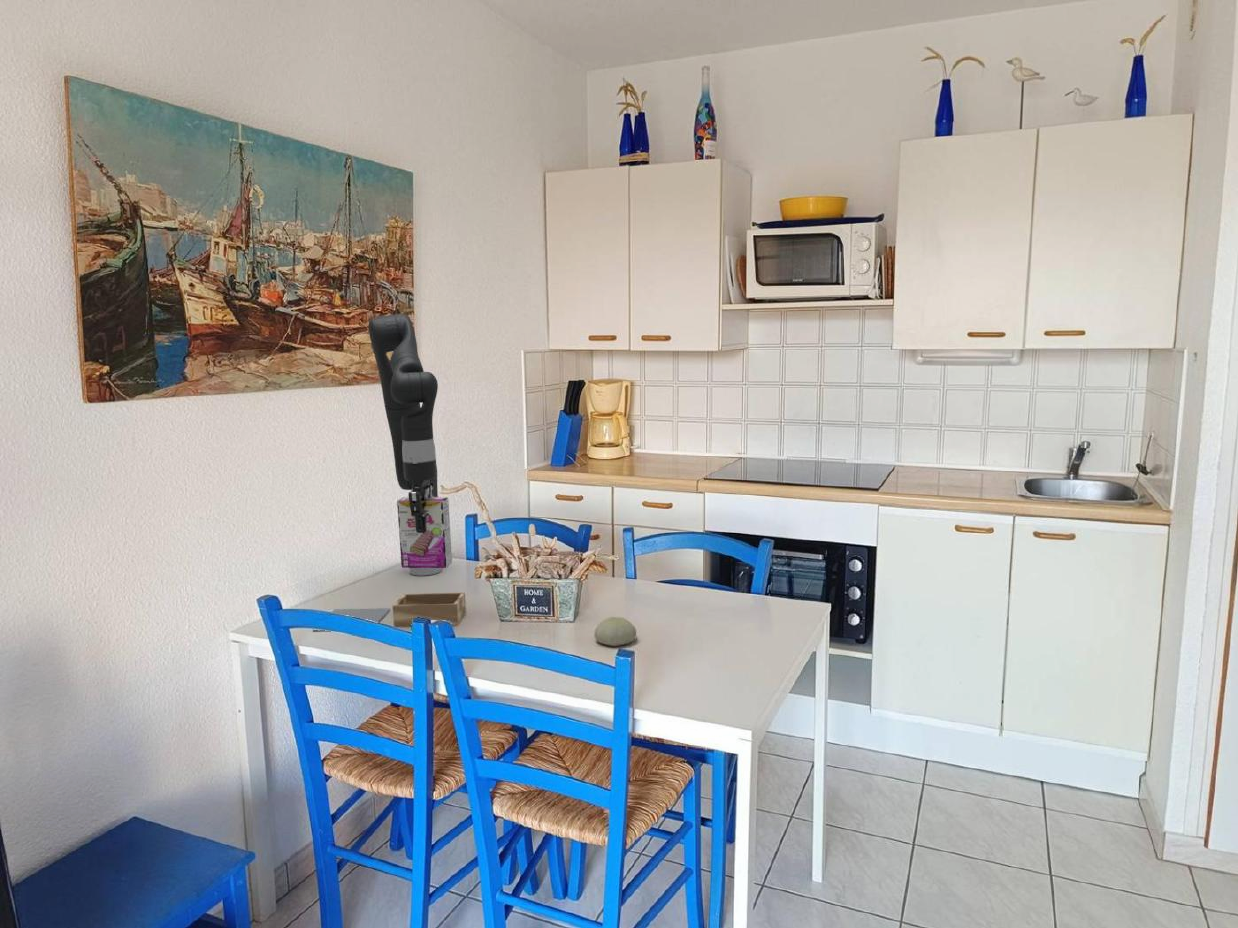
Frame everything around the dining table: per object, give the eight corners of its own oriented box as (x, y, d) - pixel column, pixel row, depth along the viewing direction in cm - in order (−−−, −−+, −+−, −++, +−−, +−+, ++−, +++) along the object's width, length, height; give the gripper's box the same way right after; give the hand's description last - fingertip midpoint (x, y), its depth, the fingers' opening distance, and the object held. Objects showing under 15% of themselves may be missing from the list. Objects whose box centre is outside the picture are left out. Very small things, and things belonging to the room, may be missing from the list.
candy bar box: (400, 569, 202) (395, 500, 199) (407, 563, 207) (402, 496, 204) (447, 568, 200) (442, 500, 198) (453, 562, 205) (448, 495, 203)
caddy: (405, 613, 210) (403, 593, 209) (466, 612, 210) (464, 592, 209) (394, 626, 201) (392, 605, 200) (457, 625, 201) (456, 604, 200)
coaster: (334, 611, 213) (334, 609, 213) (390, 610, 213) (390, 608, 213) (312, 631, 200) (312, 628, 200) (372, 630, 199) (371, 627, 199)
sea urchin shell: (636, 622, 193) (635, 607, 186) (636, 656, 188) (636, 640, 182) (595, 623, 193) (593, 607, 186) (595, 656, 188) (593, 641, 182)
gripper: (411, 454, 206) (417, 522, 209) (394, 464, 192) (400, 537, 195) (442, 453, 206) (447, 522, 209) (427, 463, 192) (432, 536, 195)
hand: (424, 529), depth 202 cm, fingers closed on candy bar box, 5 cm apart
